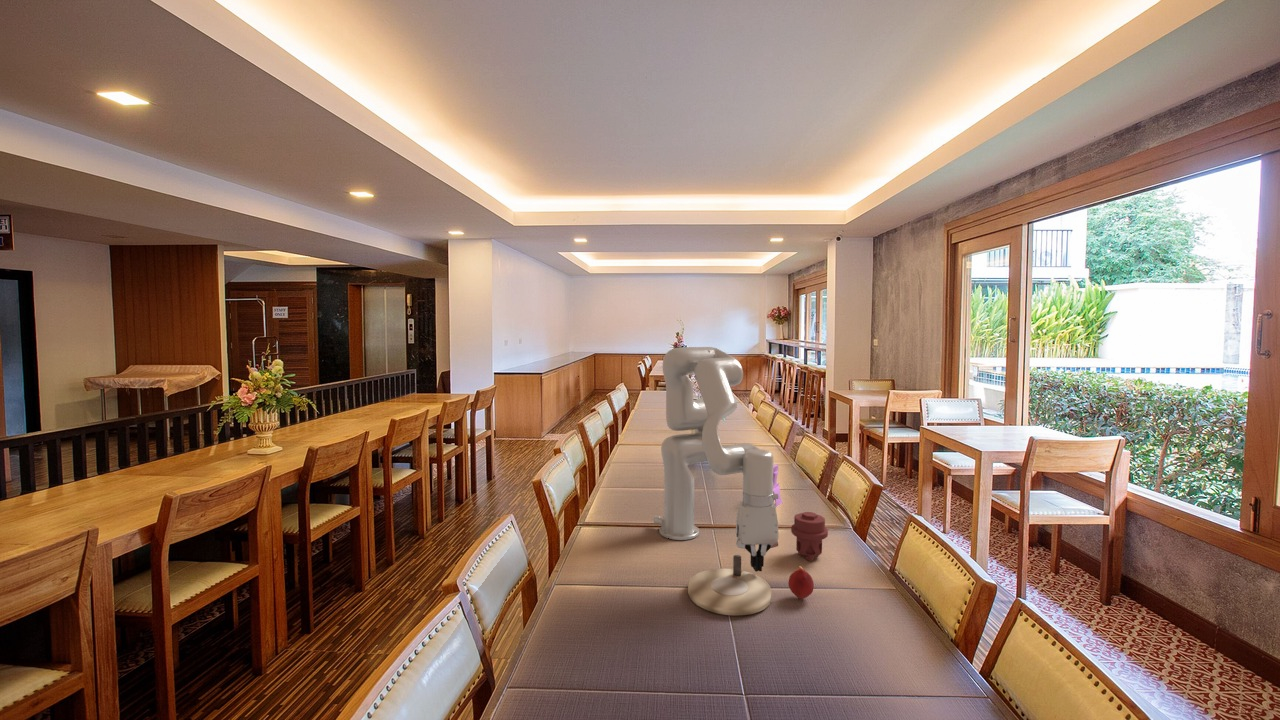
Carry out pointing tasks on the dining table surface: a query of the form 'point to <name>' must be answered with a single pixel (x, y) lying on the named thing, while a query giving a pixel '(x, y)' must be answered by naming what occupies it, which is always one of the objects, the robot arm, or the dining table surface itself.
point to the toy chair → (776, 485)
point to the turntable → (729, 590)
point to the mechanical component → (809, 534)
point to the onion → (801, 583)
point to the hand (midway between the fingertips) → (756, 569)
